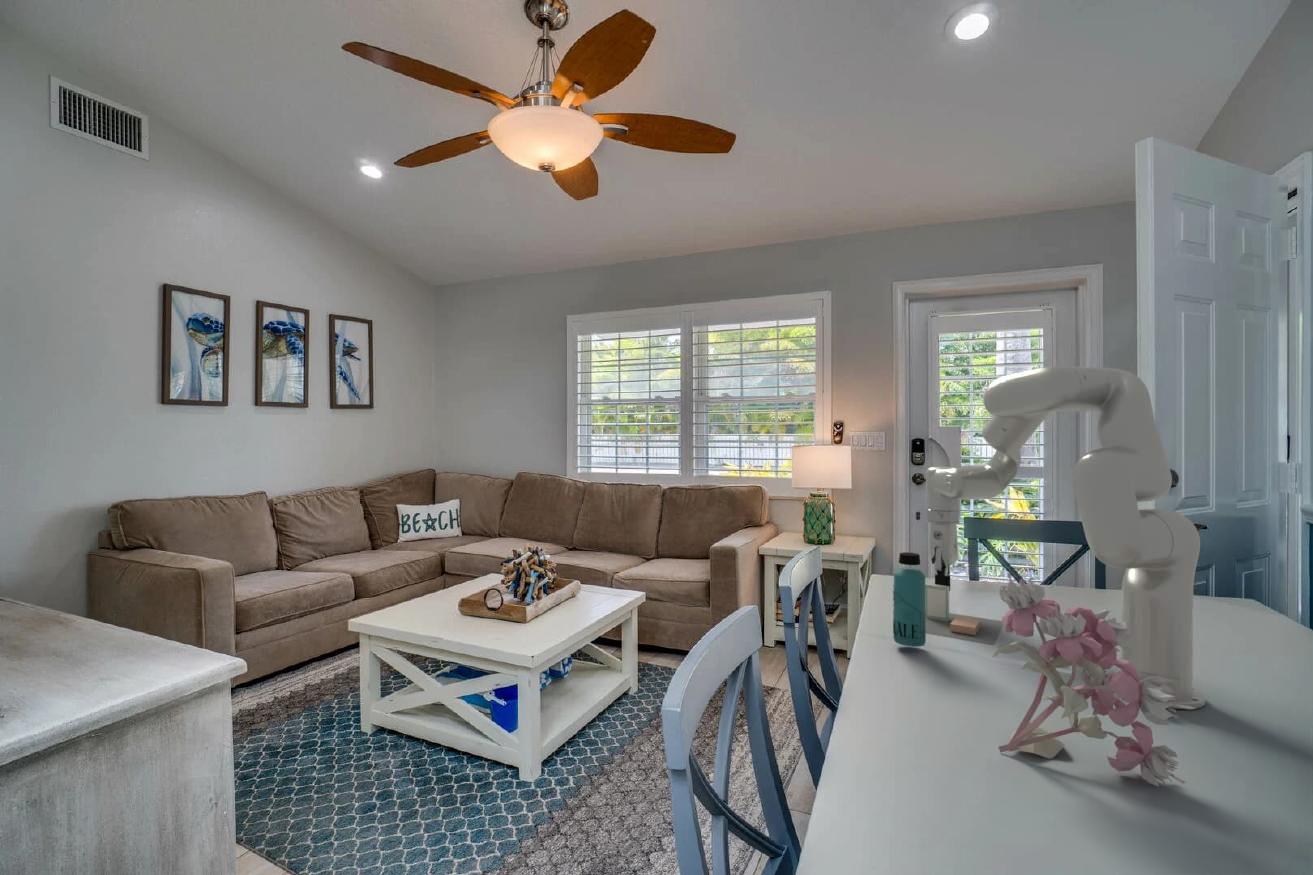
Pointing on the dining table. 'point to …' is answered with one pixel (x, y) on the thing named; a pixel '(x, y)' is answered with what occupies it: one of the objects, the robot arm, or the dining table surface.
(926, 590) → the tile
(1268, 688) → the dining table surface
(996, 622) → the mat
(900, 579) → the beverage bottle
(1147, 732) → the flower
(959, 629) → the tile
